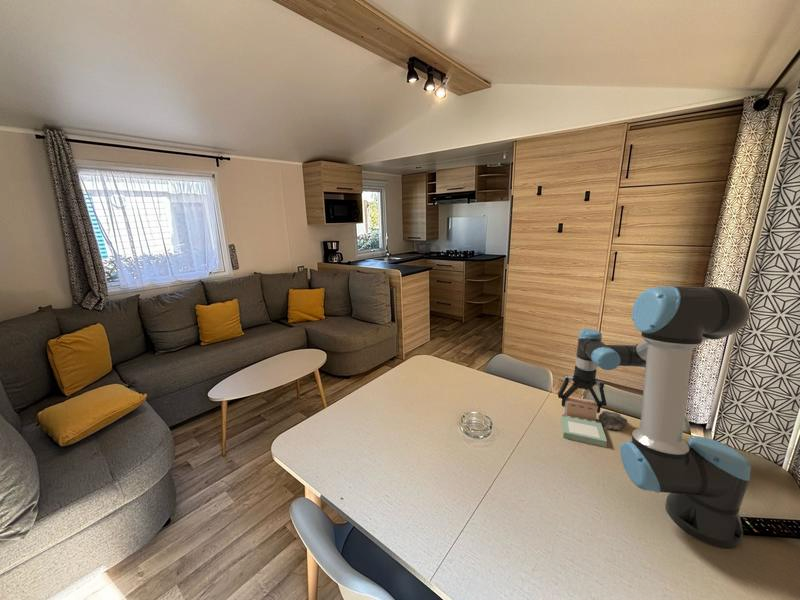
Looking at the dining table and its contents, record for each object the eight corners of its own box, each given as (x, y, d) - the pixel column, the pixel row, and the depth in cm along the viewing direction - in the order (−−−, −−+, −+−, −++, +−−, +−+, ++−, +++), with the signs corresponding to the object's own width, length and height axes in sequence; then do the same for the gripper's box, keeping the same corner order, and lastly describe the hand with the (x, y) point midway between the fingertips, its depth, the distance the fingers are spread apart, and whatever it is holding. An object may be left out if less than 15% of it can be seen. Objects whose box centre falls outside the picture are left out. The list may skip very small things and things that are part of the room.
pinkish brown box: (593, 424, 126) (596, 406, 124) (565, 419, 130) (568, 401, 128) (591, 417, 131) (594, 400, 129) (564, 412, 134) (566, 395, 133)
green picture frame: (606, 447, 114) (607, 441, 113) (563, 437, 119) (563, 431, 118) (599, 427, 124) (600, 422, 124) (560, 419, 130) (561, 414, 129)
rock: (628, 424, 126) (629, 415, 125) (616, 434, 120) (618, 425, 119) (604, 414, 133) (605, 405, 133) (592, 423, 128) (593, 414, 127)
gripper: (616, 367, 124) (608, 416, 129) (553, 359, 132) (548, 405, 138) (621, 376, 117) (613, 427, 122) (555, 366, 126) (549, 415, 131)
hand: (579, 415), depth 130 cm, fingers closed on pinkish brown box, 10 cm apart
